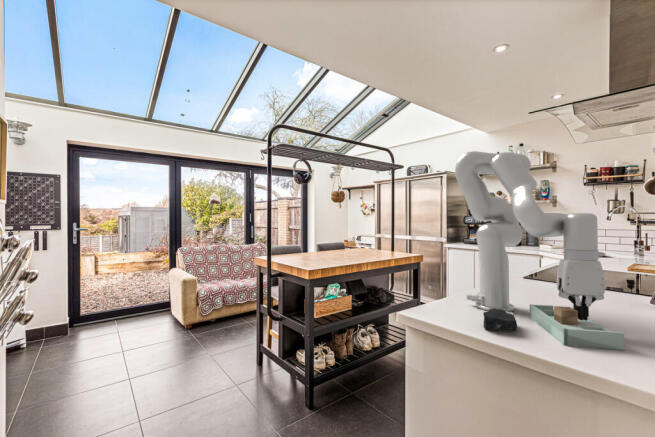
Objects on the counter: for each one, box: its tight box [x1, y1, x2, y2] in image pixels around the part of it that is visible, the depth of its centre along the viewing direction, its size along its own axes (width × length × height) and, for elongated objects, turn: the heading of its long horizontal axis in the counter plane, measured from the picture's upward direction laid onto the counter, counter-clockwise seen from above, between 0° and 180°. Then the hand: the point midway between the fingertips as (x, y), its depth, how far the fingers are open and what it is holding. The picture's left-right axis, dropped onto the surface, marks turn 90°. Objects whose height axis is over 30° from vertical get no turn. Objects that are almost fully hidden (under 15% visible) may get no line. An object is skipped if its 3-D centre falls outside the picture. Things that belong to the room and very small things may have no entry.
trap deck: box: [529, 304, 626, 351], centre depth 86 cm, size 13×22×4 cm, turn 165°
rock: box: [483, 308, 518, 332], centre depth 90 cm, size 10×9×6 cm
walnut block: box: [553, 305, 578, 325], centre depth 85 cm, size 4×4×4 cm
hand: (581, 318), depth 85 cm, fingers closed
